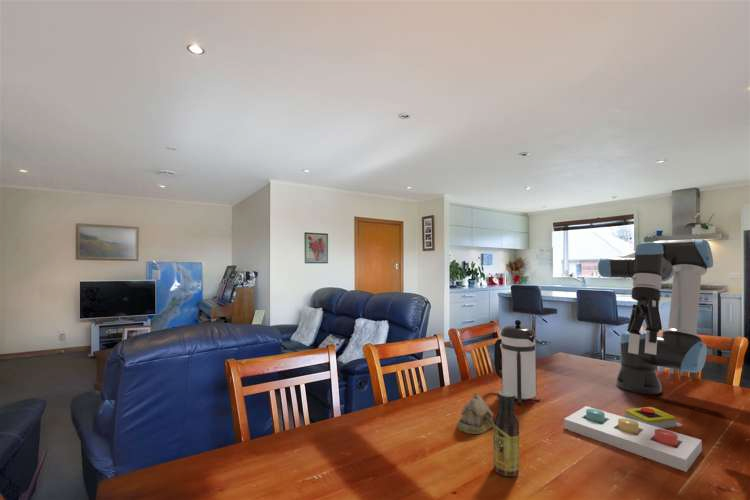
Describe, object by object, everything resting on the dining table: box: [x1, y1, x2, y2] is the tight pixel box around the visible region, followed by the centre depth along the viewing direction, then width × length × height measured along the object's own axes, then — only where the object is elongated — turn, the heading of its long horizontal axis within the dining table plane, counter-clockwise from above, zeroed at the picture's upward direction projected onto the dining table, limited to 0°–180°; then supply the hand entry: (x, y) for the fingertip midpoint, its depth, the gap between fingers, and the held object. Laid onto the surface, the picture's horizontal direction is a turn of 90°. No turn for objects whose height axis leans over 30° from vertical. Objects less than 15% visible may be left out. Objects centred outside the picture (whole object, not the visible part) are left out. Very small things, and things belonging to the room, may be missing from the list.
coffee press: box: [493, 319, 541, 406], centre depth 142 cm, size 17×16×30 cm
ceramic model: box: [456, 393, 495, 435], centre depth 118 cm, size 14×11×10 cm
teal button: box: [586, 408, 605, 424], centre depth 115 cm, size 5×5×4 cm
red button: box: [654, 428, 678, 448], centre depth 101 cm, size 5×5×4 cm
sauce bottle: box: [492, 390, 520, 478], centre depth 93 cm, size 7×6×20 cm
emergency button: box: [623, 406, 683, 429], centre depth 120 cm, size 9×4×15 cm
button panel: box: [563, 405, 703, 473], centre depth 108 cm, size 16×30×3 cm, turn 38°
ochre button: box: [618, 418, 639, 436], centre depth 108 cm, size 5×5×4 cm
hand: (641, 353), depth 116 cm, fingers open, 13 cm apart
